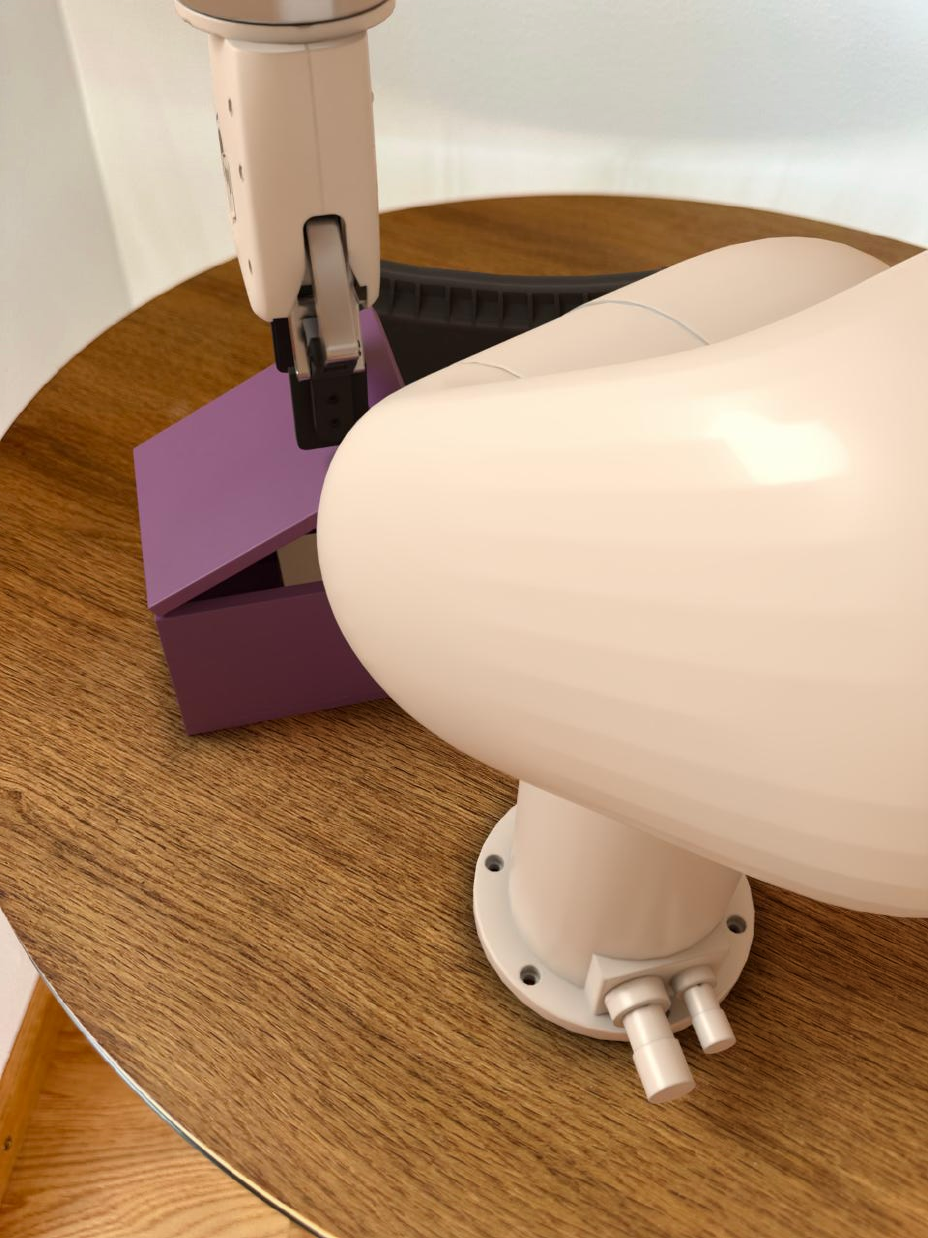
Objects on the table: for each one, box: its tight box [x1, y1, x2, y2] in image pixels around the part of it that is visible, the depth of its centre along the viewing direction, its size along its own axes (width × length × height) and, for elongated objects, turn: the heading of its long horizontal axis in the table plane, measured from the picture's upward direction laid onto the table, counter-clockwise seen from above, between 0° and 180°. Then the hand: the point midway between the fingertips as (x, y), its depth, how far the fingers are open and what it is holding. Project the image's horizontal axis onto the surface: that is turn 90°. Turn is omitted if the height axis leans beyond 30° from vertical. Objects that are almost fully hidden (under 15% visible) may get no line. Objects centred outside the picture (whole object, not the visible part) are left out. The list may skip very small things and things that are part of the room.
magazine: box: [359, 258, 669, 386], centre depth 71 cm, size 17×3×30 cm
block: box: [276, 533, 322, 587], centre depth 58 cm, size 4×4×4 cm
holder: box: [153, 528, 391, 737], centre depth 57 cm, size 14×12×9 cm
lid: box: [132, 295, 405, 617], centre depth 49 cm, size 14×12×5 cm
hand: (320, 399), depth 49 cm, fingers closed on lid, 5 cm apart
